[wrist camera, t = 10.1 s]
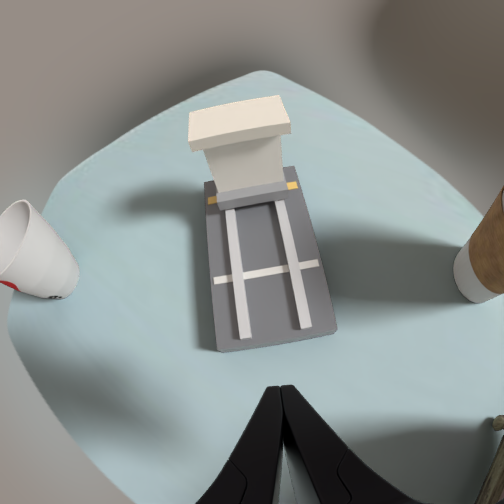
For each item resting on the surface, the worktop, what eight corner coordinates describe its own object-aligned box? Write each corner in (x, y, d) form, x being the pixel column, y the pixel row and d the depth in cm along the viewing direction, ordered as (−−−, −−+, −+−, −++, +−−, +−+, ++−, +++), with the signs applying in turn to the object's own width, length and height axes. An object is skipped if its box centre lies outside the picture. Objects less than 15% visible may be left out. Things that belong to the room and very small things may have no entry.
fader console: (333, 333, 22) (338, 327, 19) (223, 352, 22) (215, 348, 20) (294, 178, 29) (294, 161, 26) (209, 194, 29) (202, 178, 27)
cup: (35, 283, 28) (-21, 247, 19) (72, 234, 30) (21, 188, 21) (59, 326, 25) (-9, 295, 16) (101, 271, 27) (40, 223, 18)
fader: (293, 197, 24) (291, 124, 17) (215, 211, 25) (188, 143, 17) (283, 164, 26) (278, 93, 19) (213, 177, 26) (189, 110, 19)
